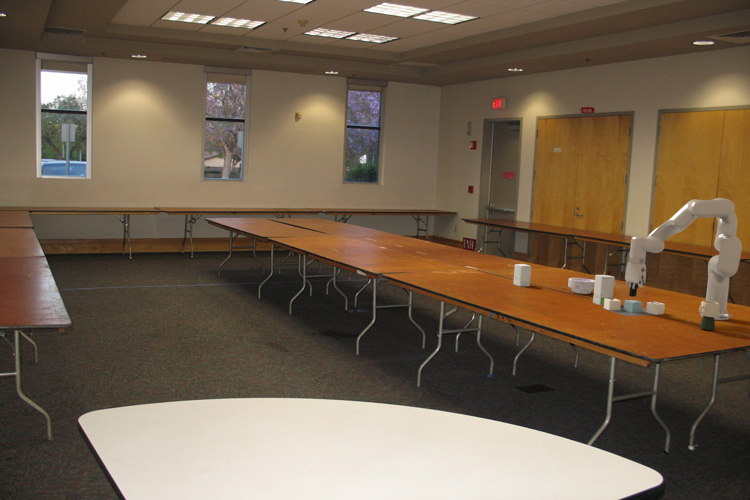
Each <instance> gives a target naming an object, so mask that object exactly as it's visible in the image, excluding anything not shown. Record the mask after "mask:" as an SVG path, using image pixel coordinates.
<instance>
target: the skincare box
mask: <svg viewBox="0 0 750 500" xmlns="http://www.w3.org/2000/svg"><path fill="white" fill-rule="evenodd" d="M594 276H595V277H594V280H595V286H594V290H593V298H592V303H593V304H595V305H598V306H604V299H605V298H614V290H615V279H616V278H615V276H613V275H606V274H595V275H594Z"/></svg>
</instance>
